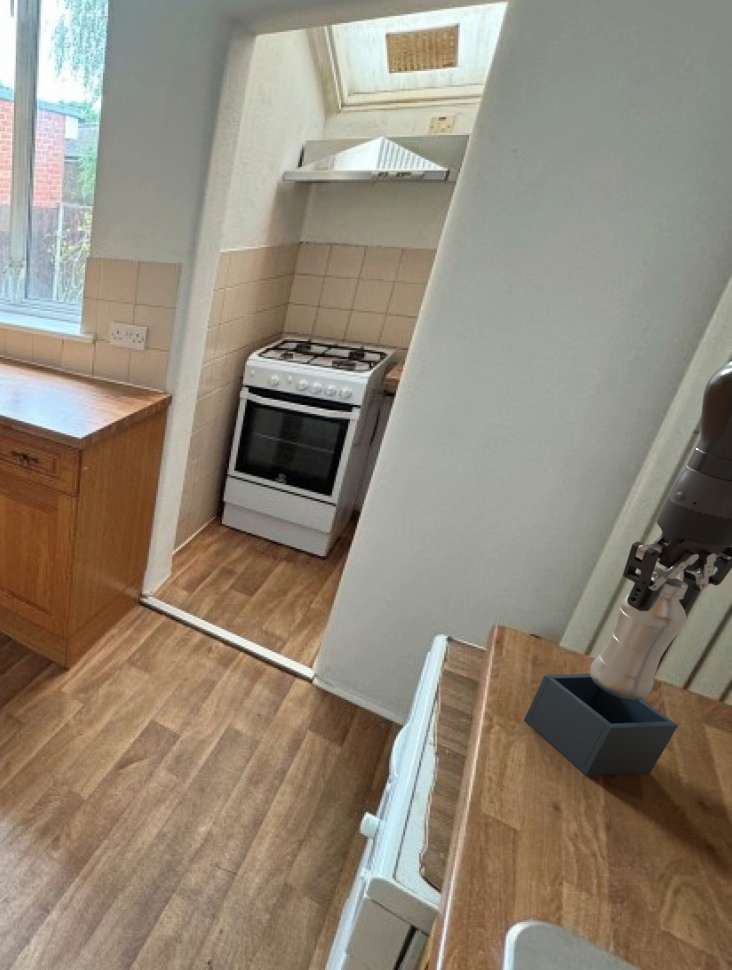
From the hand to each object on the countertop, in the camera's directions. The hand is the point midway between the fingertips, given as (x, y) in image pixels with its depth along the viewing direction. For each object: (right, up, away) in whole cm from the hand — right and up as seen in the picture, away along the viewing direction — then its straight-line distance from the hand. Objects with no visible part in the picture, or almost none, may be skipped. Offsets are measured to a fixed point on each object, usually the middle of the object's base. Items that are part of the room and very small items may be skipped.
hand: (657, 606), depth 86 cm
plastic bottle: (0, -15, +6) cm, 16 cm away
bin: (0, -25, +10) cm, 27 cm away
